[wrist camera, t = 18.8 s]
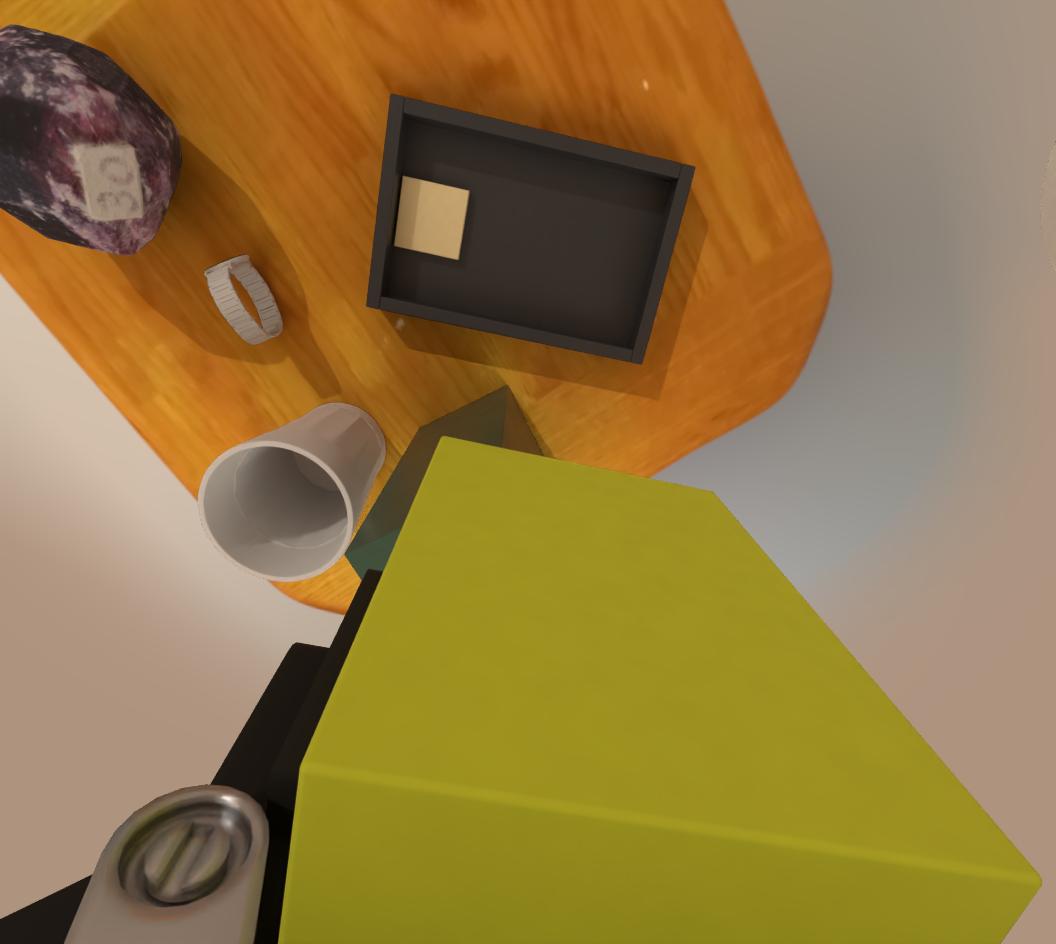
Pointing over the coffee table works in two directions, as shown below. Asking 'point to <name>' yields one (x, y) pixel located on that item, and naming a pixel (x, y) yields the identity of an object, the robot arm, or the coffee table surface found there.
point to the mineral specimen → (81, 145)
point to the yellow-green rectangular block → (619, 742)
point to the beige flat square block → (431, 217)
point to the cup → (293, 493)
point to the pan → (530, 231)
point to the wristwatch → (229, 298)
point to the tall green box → (475, 422)
